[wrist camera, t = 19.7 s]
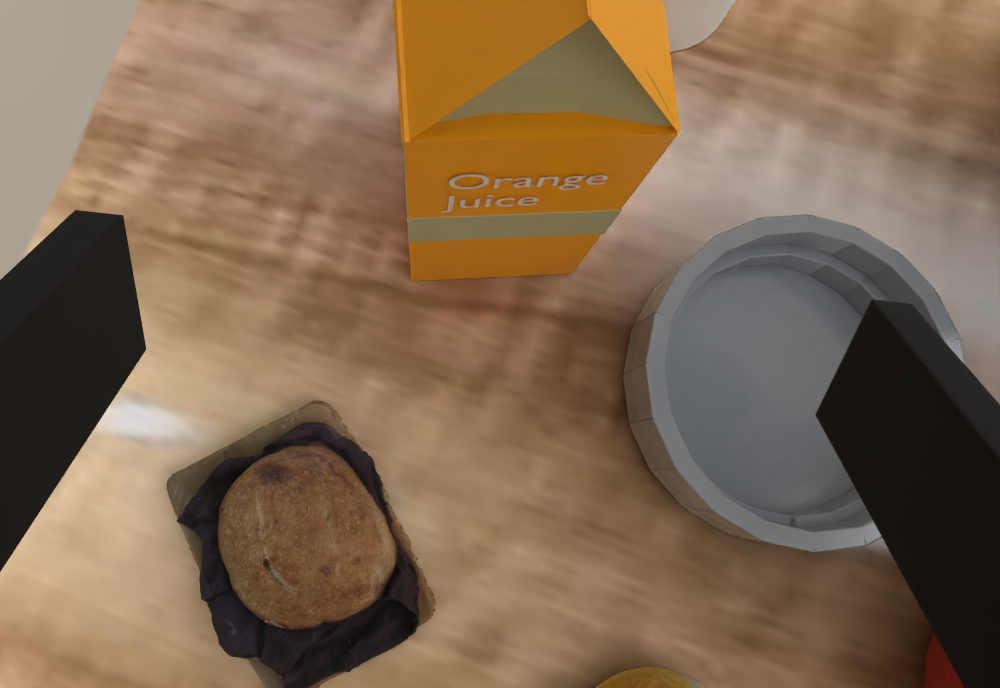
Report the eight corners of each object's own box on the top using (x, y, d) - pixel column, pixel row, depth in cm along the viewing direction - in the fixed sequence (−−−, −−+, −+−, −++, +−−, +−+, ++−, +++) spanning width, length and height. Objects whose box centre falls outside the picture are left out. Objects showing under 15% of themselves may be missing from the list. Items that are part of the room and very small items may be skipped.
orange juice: (408, 282, 34) (391, 20, 14) (397, 102, 35) (369, -362, 16) (576, 274, 35) (778, 17, 15) (559, 98, 36) (724, -344, 17)
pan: (826, 202, 37) (874, 170, 33) (959, 466, 35) (1027, 465, 31) (572, 307, 34) (592, 286, 31) (702, 594, 33) (740, 610, 29)
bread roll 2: (156, 482, 31) (121, 482, 28) (339, 390, 33) (328, 379, 29) (265, 717, 30) (243, 749, 27) (450, 611, 32) (453, 629, 28)
